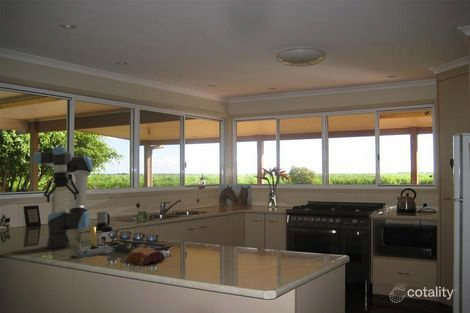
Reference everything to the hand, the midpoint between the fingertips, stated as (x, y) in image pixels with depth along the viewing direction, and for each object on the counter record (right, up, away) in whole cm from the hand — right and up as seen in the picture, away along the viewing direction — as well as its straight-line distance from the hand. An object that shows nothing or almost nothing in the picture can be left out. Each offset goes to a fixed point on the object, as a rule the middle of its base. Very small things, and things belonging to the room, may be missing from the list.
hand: (62, 206), depth 277 cm
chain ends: (+22, -27, -7) cm, 36 cm away
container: (+23, -28, +19) cm, 41 cm away
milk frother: (-9, -32, +109) cm, 114 cm away
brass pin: (+22, -27, -7) cm, 36 cm away
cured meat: (+58, -25, -34) cm, 72 cm away
